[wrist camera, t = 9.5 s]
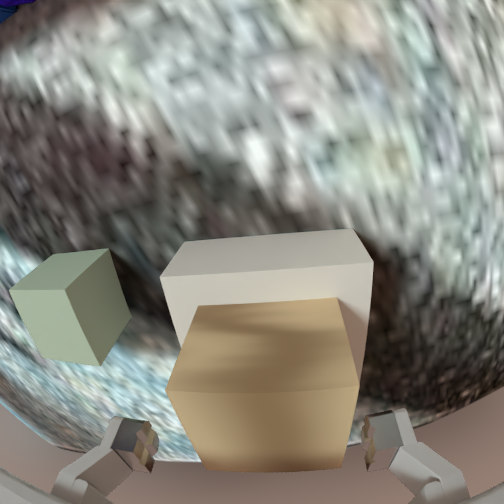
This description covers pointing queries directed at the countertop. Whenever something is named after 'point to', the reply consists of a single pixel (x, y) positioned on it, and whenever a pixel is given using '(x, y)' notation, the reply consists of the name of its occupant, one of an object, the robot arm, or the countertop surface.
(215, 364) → the oak block
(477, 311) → the countertop surface
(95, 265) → the green cube
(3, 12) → the toy car
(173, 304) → the pedestal
